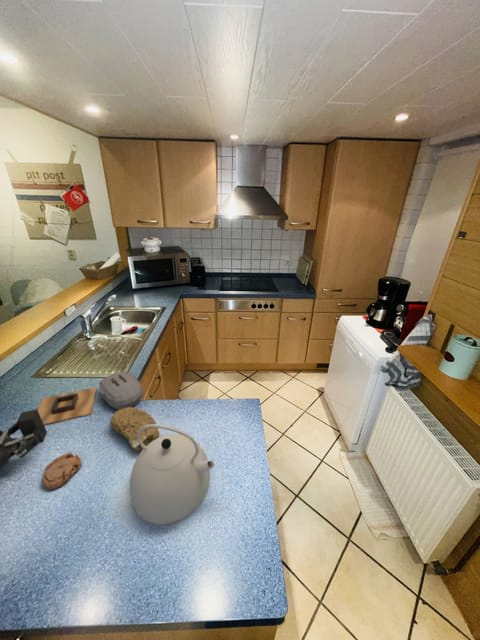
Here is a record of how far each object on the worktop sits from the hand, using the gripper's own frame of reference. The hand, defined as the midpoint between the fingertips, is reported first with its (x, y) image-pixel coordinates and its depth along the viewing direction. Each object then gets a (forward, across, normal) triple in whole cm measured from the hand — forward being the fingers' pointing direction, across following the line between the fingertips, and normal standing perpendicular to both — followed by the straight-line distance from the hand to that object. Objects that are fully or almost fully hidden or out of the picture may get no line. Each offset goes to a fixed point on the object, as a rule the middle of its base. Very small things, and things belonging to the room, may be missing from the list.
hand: (32, 424), depth 85 cm
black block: (0, 0, +6) cm, 7 cm away
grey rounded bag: (+24, -17, +7) cm, 31 cm away
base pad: (+15, +2, +6) cm, 16 cm away
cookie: (-9, -18, +7) cm, 21 cm away
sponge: (+8, -32, +7) cm, 34 cm away
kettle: (-6, -53, +7) cm, 54 cm away
